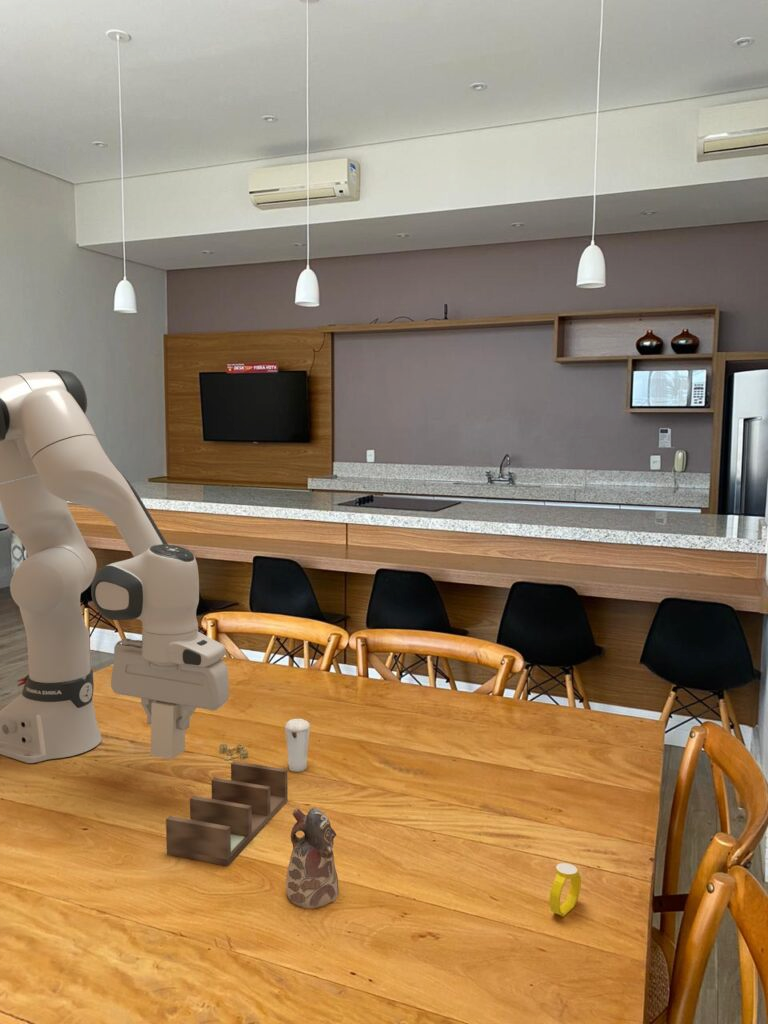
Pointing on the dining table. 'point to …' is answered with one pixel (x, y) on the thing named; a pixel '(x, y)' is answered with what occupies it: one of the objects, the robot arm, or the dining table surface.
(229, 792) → the slot rack
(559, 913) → the watch
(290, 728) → the milkshake
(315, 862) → the figurine
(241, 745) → the dice set
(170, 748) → the peg
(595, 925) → the dining table surface
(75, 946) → the dining table surface
